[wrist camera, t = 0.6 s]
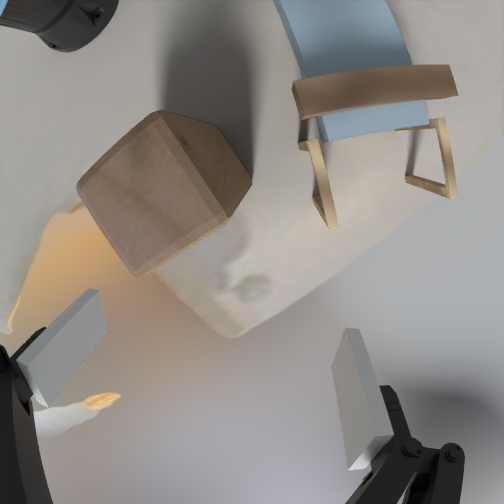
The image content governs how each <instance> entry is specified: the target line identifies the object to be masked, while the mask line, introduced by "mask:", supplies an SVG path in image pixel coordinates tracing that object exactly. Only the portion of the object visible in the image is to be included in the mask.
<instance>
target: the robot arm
mask: <svg viewBox="0 0 504 504" xmlns="http://www.w3.org/2000/svg"><path fill="white" fill-rule="evenodd" d="M117 4H118V0H0V25H1V26H6V27H11V28H15V29H19V30H23V31H27V32H31V33H35V34H36V35H37V36H38V37H39V38H40V39H41V40H42V41H43V42H44V43H45V44H46V45H48V46H49V47H50V48H52V49H54V50H57V51H60V52H72V51H75V50H78V49H80V48H82V47H83V46H85V45H87V44H88V43H89V42H91V41H92V40H93V39H94V38H95V37H97V36H98V35H99V34H100V32H101V31H102V30H103V29H104V28H105V27H106V25H107V24H108V23H109V21H110V19H111V18H112V16H113V14H114V12H115V10H116V7H117ZM106 331H107V329H106V324H105V319H104V313H103V308H102V302H101V296H100V290H95V289H91V288H89V289H87V290H86V291H85V292H84V293H83V294H82V295H81V296H80V297H79V298H77V299H76V300H75V301H74V302H73V303H72V304H71V305H70V306H69V307H68V308H67V309H66V310H65V311H64V312H63V313H62V314H61V315H59V317H57V318H56V320H54V321H53V322H52V324H50V325H49V326H48V327H47V328H46V327H43V328H41V329H39V330H38V331H36V332H35V333H34V334H33V335H32V336H31V337H30V338H29V339H28V340H27V341H26V343H24V344H23V345H22V346H21V347H20V348H19V349H18V350H17V351H16V352H15V353H14V354H13V355H12V356H11V358H9V356H8V354H7V351H6V349H5V348H4V346H2V345H0V504H53V501H52V498H51V495H50V492H49V488H48V485H47V481H46V478H45V474H44V470H43V466H42V462H41V457H40V452H39V446H38V441H37V435H36V429H35V422H34V414H33V406H32V401H31V399H30V398H31V396H32V395H34V396H35V398H36V400H37V402H38V403H40V404H42V405H44V406H46V407H48V408H49V407H50V406H51V404H52V403H53V402H54V400H55V399H56V397H57V396H58V394H59V393H60V392H61V390H62V389H63V388H64V386H65V385H66V383H67V382H68V381H69V379H70V378H71V376H72V375H73V374H74V372H75V371H76V370H77V368H78V367H79V366H80V364H81V363H82V362H83V360H84V359H85V358H86V356H87V355H88V354H89V352H90V351H91V350H92V348H93V347H94V346H95V345H96V343H97V342H98V341H99V339H100V338H101V337H102V336H103V334H104V333H105V332H106ZM331 368H332V373H333V379H334V384H335V389H336V395H337V401H338V407H339V413H340V419H341V425H342V432H343V438H344V445H345V452H346V460H347V467H348V470H355V469H365V468H366V467H367V466H368V465H369V464H370V463H371V468H372V470H371V471H370V472H369V473H368V474H367V476H365V477H364V478H363V482H362V483H361V484H360V486H359V487H358V488H357V490H356V491H355V492H354V493H353V495H352V496H351V497H350V498H349V500H348V501H347V502H346V503H345V504H397V502H398V500H399V499H400V497H401V496H402V494H403V492H404V491H405V489H406V492H405V496H404V499H403V503H402V504H459V503H460V496H461V489H462V482H463V472H464V461H465V456H464V451H463V449H462V448H461V447H460V446H459V445H457V444H455V443H448V444H445V445H444V446H443V447H442V448H441V449H432V448H426V447H423V446H422V445H421V443H420V442H419V441H418V440H417V439H415V438H412V437H411V434H410V431H409V428H408V425H407V422H406V419H405V416H404V413H403V411H402V408H401V405H400V404H399V399H398V397H397V394H396V392H395V391H394V390H393V389H392V388H391V387H390V385H386V386H379V384H378V381H377V378H376V375H375V372H374V369H373V367H372V363H371V361H370V358H369V355H368V352H367V349H366V346H365V344H364V341H363V338H362V336H361V333H360V330H359V329H352V328H345V331H344V333H343V336H342V339H341V342H340V345H339V348H338V350H337V353H336V356H335V359H334V361H333V364H332V367H331Z"/></svg>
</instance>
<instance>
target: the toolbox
mask: <svg viewBox="0 0 504 504" xmlns="http://www.w3.org/2000/svg"><path fill="white" fill-rule="evenodd" d="M429 123H430V124H428V125H420V126H413V127H406V128H399V129H395V130H396V131H398V130H412V129H430V128H436V130H437V135H438V140H439V145H440V150H441V156H442V162H443V168H444V175H445V183H446V185H444V184H441V183H438V182H435V181H431V180H428V179H425V178H421V177H418V176H414V175H406V176H405V179H406V183H409V184H411V185H414V186H417V187H420V188H423V189H425V190H428V191H431V192H433V193H436V194H438V195H441V196H444V197H446V198H448V199H454V198H457V190H456V180H455V172H454V165H453V158H452V152H451V147H450V141H449V136H448V131H447V127H446V122H445V118H437V119H429ZM298 145H299V149H300V150H303V151H309V153H310V156H311V160H312V164H313V168H314V171H315V175H316V179H317V183H318V187H319V191H320V195H321V196H320V195H317V196H313V197H312V198H313V202H314V205H315V206H316V208H317V210H318V211H319V213H320V215H321V216H322V218H323V220H324V221H325V223H326V225H327V227H328V228H329V229H330V228H334V227H338V226H339V225H338V220H337V216H336V211H335V206H334V202H333V197H332V193H331V189H330V184H329V180H328V176H327V172H326V168H325V164H324V160H323V156H322V153H321V149H320V145H319V141H318V139H313V140H308V141H303V142H299V143H298Z"/></svg>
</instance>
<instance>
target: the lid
mask: <svg viewBox="0 0 504 504" xmlns="http://www.w3.org/2000/svg"><path fill="white" fill-rule="evenodd" d="M273 1H274V4H275V6H276V8H277V11H278V13H279V15H280V18H281V20H282V23H283V25H284V28H285V30H286V33H287V35H288V38H289V40H290V43H291V46H292V48H293V51H294V54H295V56H296V59H297V62H298V65H299V68H300V70H301V73H302V76H303V79H307V78H312V77H317V76H322V75H328V74H334V73H340V72H347V71H354V70H361V69H370V68H380V67H391V66H406V65H413V64H412V62H411V59H410V56H409V53H408V51H407V48H406V45H405V43H404V40H403V38H402V35H401V33H400V31H399V28H398V26H397V24H396V21H395V19H394V17H393V15H392V13H391V11H390V9H389V6H388V4H387V2H386V0H273ZM316 120H317V124H318V127H319V131H320V134H321V138H322V142H329V141H334V140H339V139H344V138H349V137H354V136H359V135H364V134H370V133H375V132H381V131H387V130H393V129H399V128H406V127H413V126H420V125H428V124H430V123H429V119H428V115H427V111H426V107H425V103H424V100H420V101H410V102H401V103H393V104H385V105H378V106H371V107H365V108H359V109H353V110H347V111H342V112H337V113H331V114H326V115H322V116H317V117H316Z"/></svg>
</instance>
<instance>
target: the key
mask: <svg viewBox="0 0 504 504" xmlns="http://www.w3.org/2000/svg"><path fill="white" fill-rule="evenodd" d="M292 92H293V95H294V99H295V102H296V105H297V108H298V111H299V115H300V118H301V120H303V119H308V118H312V117H317V116H322V115H326V114H331V113H337V112H342V111H347V110H353V109H359V108H365V107H371V106H378V105H385V104H393V103H401V102H410V101H420V100H432V99H442V98H447V97H452V96H457V95H458V92H457V89H456V85H455V82H454V79H453V75H452V72H451V69H450V66H449V65H406V66H391V67H380V68H370V69H361V70H354V71H347V72H340V73H334V74H328V75H322V76H317V77H312V78H307V79H302V80H297V81H294V82H293V86H292Z"/></svg>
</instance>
